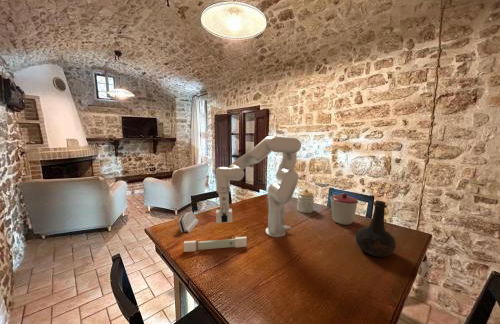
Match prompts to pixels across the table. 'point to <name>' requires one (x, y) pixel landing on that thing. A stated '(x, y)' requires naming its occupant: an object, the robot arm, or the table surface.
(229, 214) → the block
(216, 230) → the table surface
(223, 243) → the door
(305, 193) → the jar
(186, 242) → the notched cream block
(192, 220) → the hinge
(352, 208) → the canister
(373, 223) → the glass bottle
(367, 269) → the table surface
